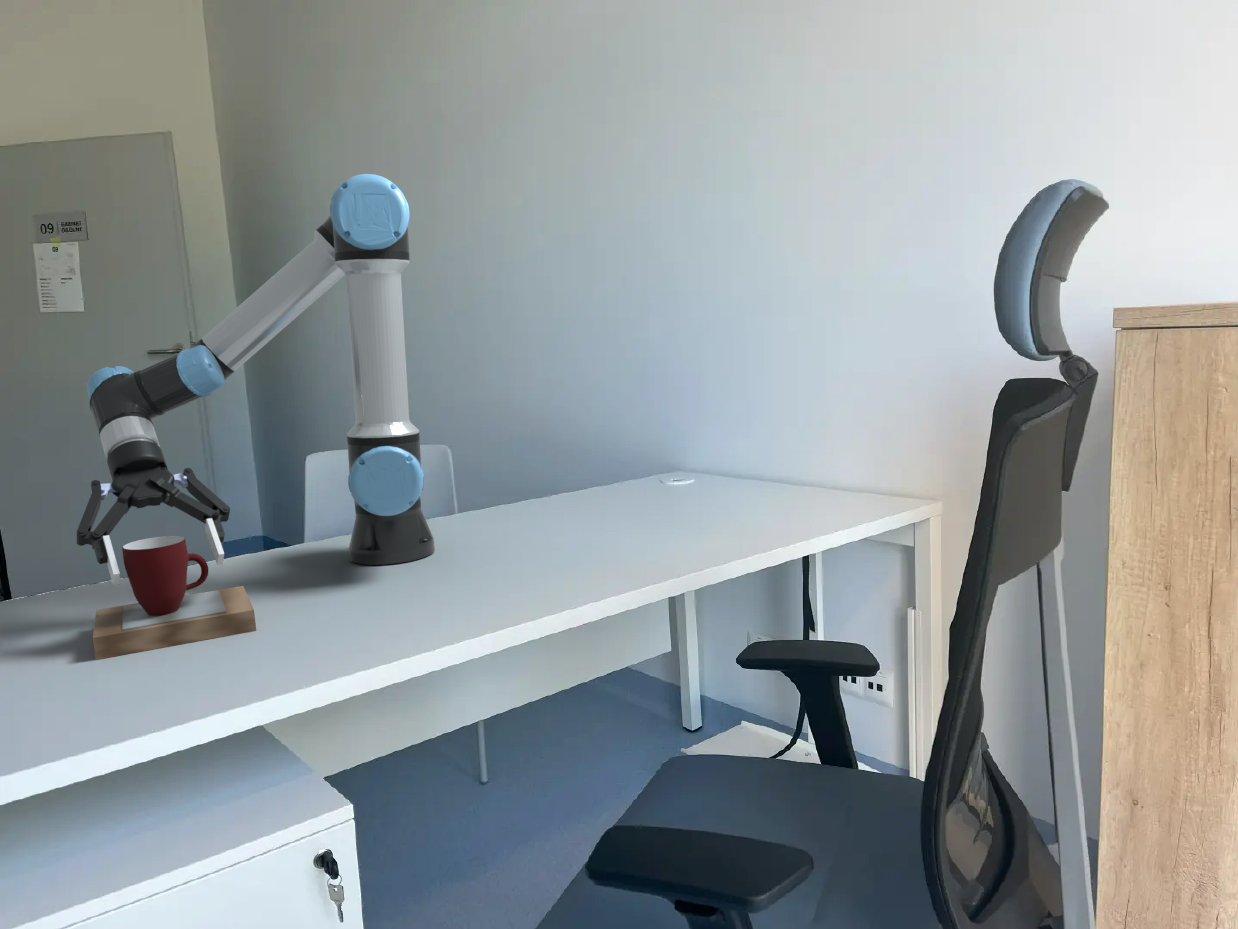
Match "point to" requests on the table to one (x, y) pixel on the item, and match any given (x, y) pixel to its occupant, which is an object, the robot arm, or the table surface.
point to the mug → (160, 572)
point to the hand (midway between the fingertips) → (170, 569)
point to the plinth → (172, 623)
